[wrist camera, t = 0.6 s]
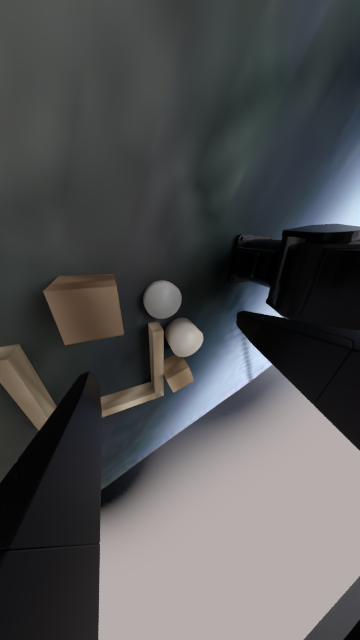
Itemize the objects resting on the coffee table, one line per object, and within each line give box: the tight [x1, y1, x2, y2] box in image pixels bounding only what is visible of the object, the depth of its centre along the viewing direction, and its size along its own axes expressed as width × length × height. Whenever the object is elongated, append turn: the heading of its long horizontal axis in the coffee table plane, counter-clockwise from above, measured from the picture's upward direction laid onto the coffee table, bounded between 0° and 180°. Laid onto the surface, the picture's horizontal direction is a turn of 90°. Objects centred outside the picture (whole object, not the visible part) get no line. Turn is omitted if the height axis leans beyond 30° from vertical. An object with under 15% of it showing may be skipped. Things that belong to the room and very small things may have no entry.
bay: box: [0, 322, 164, 430], centre depth 21 cm, size 17×14×2 cm
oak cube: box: [163, 354, 194, 392], centre depth 26 cm, size 4×4×4 cm
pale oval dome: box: [165, 318, 203, 357], centre depth 23 cm, size 5×5×4 cm
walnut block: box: [43, 274, 124, 345], centre depth 15 cm, size 5×5×5 cm
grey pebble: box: [143, 280, 182, 319], centre depth 20 cm, size 5×5×2 cm
